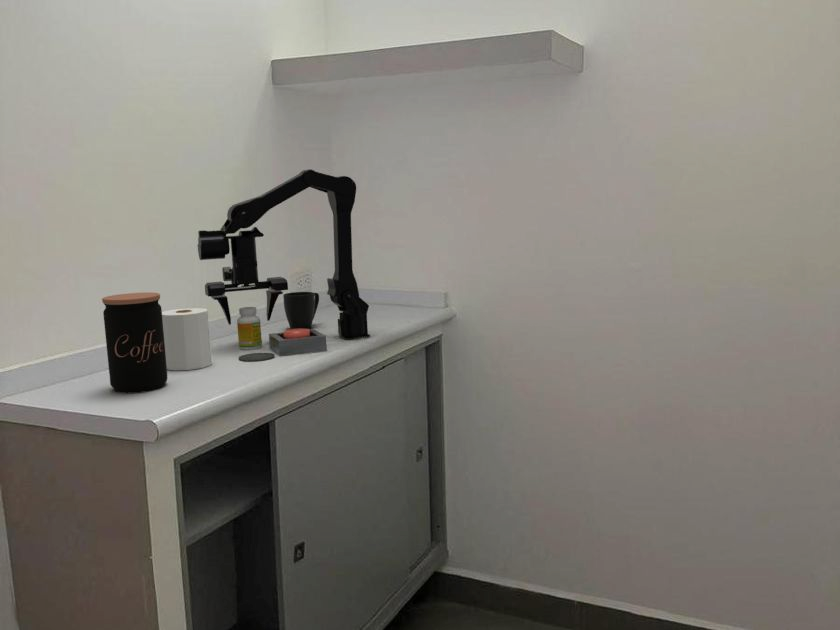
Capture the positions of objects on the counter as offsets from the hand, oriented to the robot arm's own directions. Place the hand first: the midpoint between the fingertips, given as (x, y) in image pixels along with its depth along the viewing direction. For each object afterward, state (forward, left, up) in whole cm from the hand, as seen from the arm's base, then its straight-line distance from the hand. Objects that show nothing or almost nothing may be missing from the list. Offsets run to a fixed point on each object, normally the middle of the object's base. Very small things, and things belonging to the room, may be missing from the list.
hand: (249, 322), depth 199 cm
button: (-9, +9, -4) cm, 13 cm away
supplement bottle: (0, 0, -6) cm, 6 cm away
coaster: (+1, +13, -6) cm, 14 cm away
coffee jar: (+27, +29, -6) cm, 40 cm away
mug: (-19, -22, -6) cm, 30 cm away
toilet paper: (+16, +13, -6) cm, 22 cm away
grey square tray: (-9, +8, -6) cm, 14 cm away
